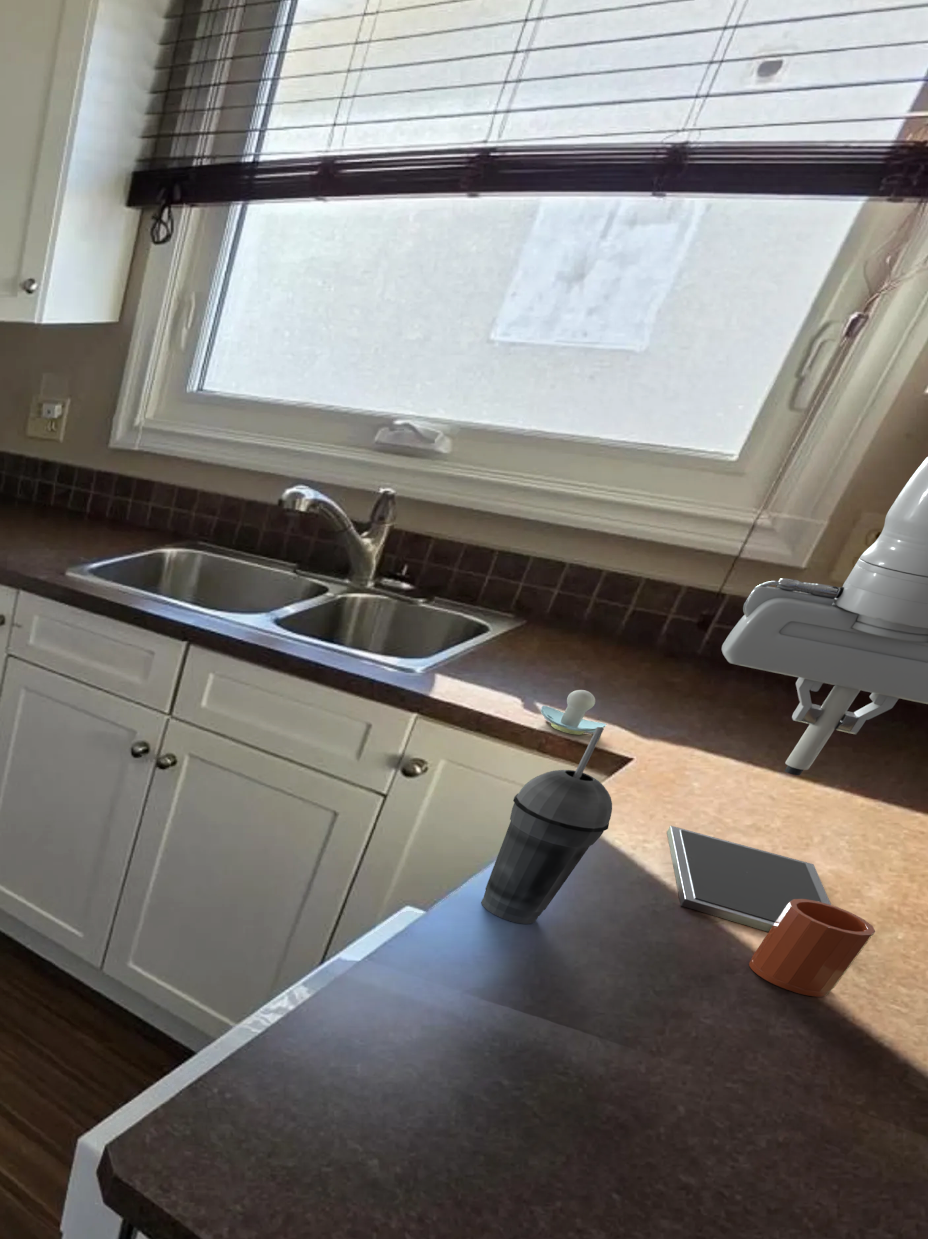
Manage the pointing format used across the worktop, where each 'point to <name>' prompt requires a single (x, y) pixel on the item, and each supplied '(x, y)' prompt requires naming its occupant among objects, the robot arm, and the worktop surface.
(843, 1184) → the worktop surface
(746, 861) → the tablet
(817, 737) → the stylus
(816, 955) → the pen pot
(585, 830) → the beverage cup
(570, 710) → the pacifier
